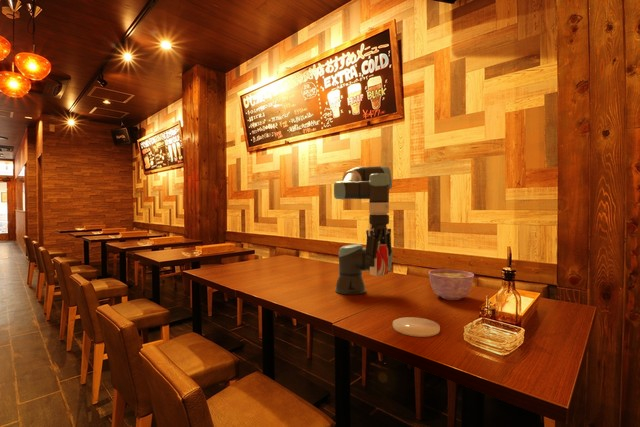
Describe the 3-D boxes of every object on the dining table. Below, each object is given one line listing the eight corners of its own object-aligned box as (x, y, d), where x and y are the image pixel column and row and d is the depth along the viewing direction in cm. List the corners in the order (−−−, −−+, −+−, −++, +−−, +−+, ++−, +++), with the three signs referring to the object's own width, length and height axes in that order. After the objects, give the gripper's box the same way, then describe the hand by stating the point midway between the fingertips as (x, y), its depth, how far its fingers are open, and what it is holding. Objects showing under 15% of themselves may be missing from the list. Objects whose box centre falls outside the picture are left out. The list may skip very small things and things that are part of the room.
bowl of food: (423, 292, 169) (423, 269, 168) (463, 292, 168) (464, 269, 168) (435, 303, 149) (435, 277, 148) (482, 304, 148) (482, 277, 148)
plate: (383, 328, 119) (383, 325, 119) (406, 317, 131) (406, 314, 131) (426, 340, 108) (426, 337, 108) (447, 327, 120) (447, 324, 120)
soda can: (388, 277, 127) (388, 245, 126) (369, 276, 128) (369, 244, 128) (388, 273, 134) (388, 243, 133) (370, 272, 135) (370, 242, 135)
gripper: (372, 214, 121) (372, 279, 121) (401, 213, 135) (400, 271, 136) (355, 214, 126) (355, 276, 126) (384, 213, 140) (384, 268, 141)
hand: (379, 273), depth 131 cm, fingers closed on soda can, 7 cm apart
